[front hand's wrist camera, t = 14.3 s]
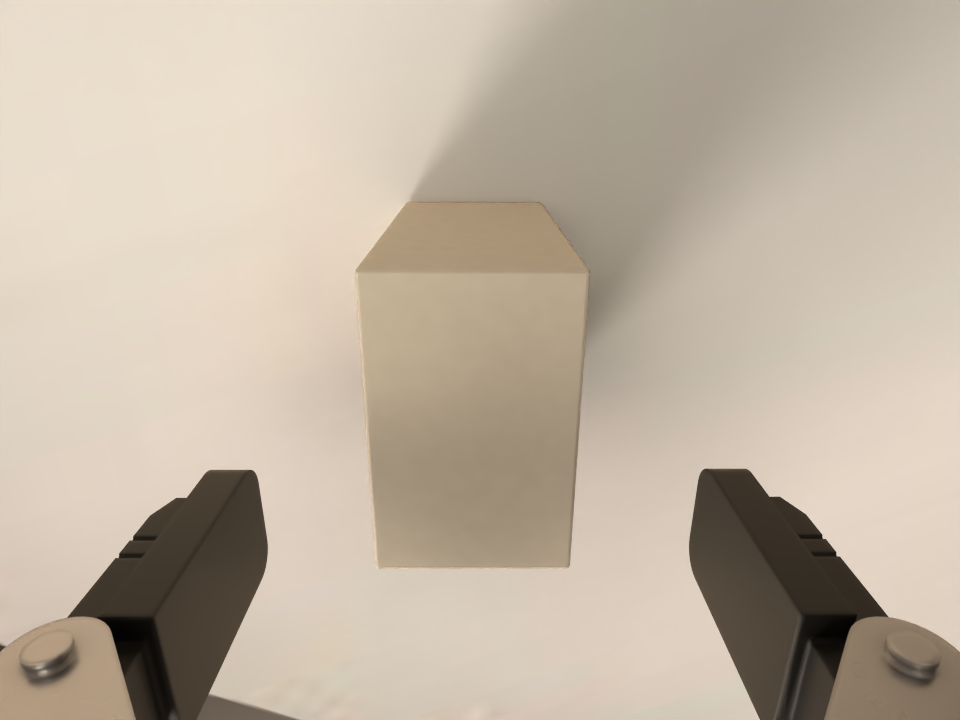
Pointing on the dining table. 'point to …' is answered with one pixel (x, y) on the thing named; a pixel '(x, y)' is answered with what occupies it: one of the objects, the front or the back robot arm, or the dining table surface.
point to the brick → (472, 385)
